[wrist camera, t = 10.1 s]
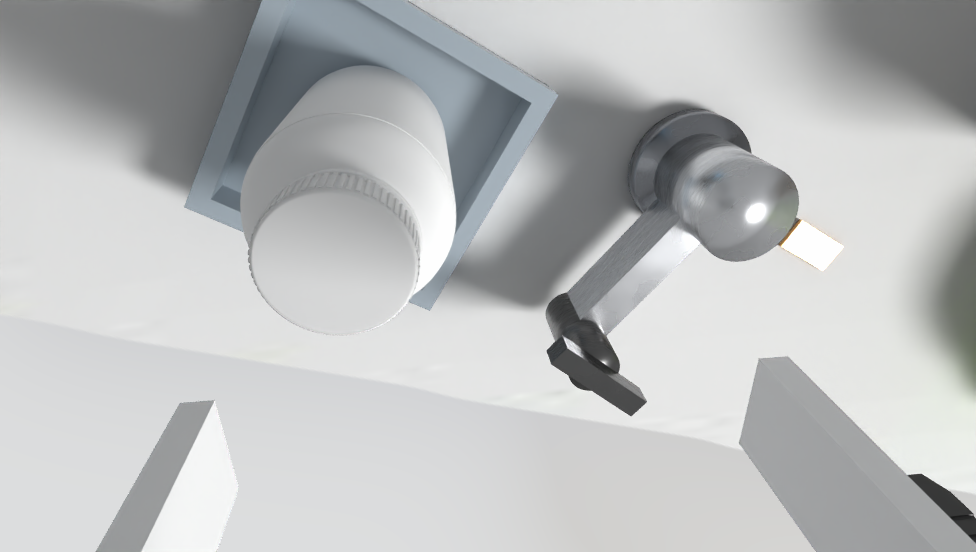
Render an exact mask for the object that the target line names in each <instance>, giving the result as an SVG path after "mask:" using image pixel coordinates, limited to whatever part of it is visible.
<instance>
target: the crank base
mask: <svg viewBox="0 0 976 552" xmlns="http://www.w3.org/2000/svg"><path fill="white" fill-rule="evenodd" d="M696 134H713V135H717V136H719V137H721V138H723V139H725V140H727V141H729V142H731V143H732V144H734V145H736V146H738V147H740V148H742V149H743V150H745V151H747V152H749V153H751V148H750V145H749V142H748V140H747V137H746V136H745V134H744V133H743V131H742V130H741V129H740V128H739V127H738V126H737V125H736V124H735V123H733V122H732V121H730V120H728V119H726V118H724V117H722V116H720V115H718V114H716V113H713V112H710V111H706V110H686V111H681V112H678V113H675V114H672V115H670V116H668V117H666V118H664V119H663V120H661V121H660V122H658V123H657V124H656V125H654V126H653V127H652V128H651V129H650V130H649V131H648V132H647V133H646V134H645V135H644V137H643V138H642V139H641V141H640V142H639V144H638V145H637V147H636V149H635V151H634V153H633V155H632V158H631V162H630V166H629V172H628V182H629V189H630V193H631V195H632V198H633V200H634V202H635V203H636V205H637V206H638V207H639V209H640V210H641V211H642V212H643V213H644V212H645V211H646V210H647V209H648V208H649V207H650V206H651V205H652V204H653V203H654V202H655V201H656V200H657V198H656V195H655V192H654V176H655V172H656V169H657V166H658V164H659V162H660V160H661V159H662V157H663V156H664V155H665V153H666V152H667V151H668V150H669V149H670V148H671V147H672V146H673V145H675V144H676V143H677V142H679V141H680V140H682V139H684V138H686V137H689V136H692V135H696ZM779 245H780V246H782V247H783V248H785V249H787V250H788V251H790V252H792V253H793V254H795V255H797V256H798V257H800V258H802V259H804V260H805V261H807V262H809V263H810V264H812V265H814V266H815V267H817V268H819V269H820V270H822V271H823V270H824V269H825V268H826V267H827V265H828V264H829V263H830V262H831V261H832V260H833V259H834V257H835V256H836V255H837V254H838V253H839V252H840V251H841V249H842V248H843V247H844V246H842V245H840V244H839V243H837V242H836V241H834V240H832V239H831V238H829V237H828V236H826V235H824V234H823V233H821V232H819V231H818V230H816V229H815V228H813V227H811V226H810V225H808V224H807V223H805V222H803V221H802V220H800V219H799V221H798V222H797V223H796V224H795V225H794V227H793V228H792V229H791V230H790V231H789V233H788V234H787V235H786V236H785V237H784V239H783V240H782V241H781V242H780V244H779Z"/></svg>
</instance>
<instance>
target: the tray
mask: <svg viewBox="0 0 976 552" xmlns="http://www.w3.org/2000/svg"><path fill="white" fill-rule="evenodd" d="M359 65H370V66H378V67H383V68H387V69H390V70H393V71H395V72H397V73H399V74H401V75H403V76H405V77H407V78H408V79H410V80H411V81H413V82H414V83H415V84H416V85H418V86H419V87H420V88H421V89H422V90H423V91H424V92H425V93H426V95H427V96H428V97H429V98H430V100H431V101H432V103H433V104H434V106H435V108H436V109H437V111H438V113H439V115H440V118H441V120H442V123H443V127H444V131H445V137H446V143H447V150H448V156H449V163H450V169H451V176H452V182H453V189H454V195H455V203H456V228H455V235H454V239H453V243H452V246H451V248H450V251H449V253H448V255H447V257H446V259H445V261H444V263H443V264H442V266H441V267H440V269H439V270H438V272H437V273H436V274H435V276H434V277H433V278H432V279H431V280H430V281H429V282H428V283H427V284H426V285H425V286H424V287H423V288H422V289H421V290H419V291H418V292H417V293H415V294H414V295H412V298H411V299H409V302H410V303H413V304H415V305H417V306H420V307H422V308H425V309H427V310H429V311H430V309H431V308H432V306H433V304H434V303H435V301H436V299H437V298H438V296H439V294H440V293H441V291H442V289H443V288H444V286H445V284H446V283H447V281H448V279H449V278H450V276H451V274H452V273H453V271H454V269H455V268H456V266H457V264H458V263H459V261H460V259H461V258H462V256H463V254H464V253H465V251H466V249H467V248H468V246H469V244H470V243H471V241H472V239H473V238H474V236H475V234H476V233H477V231H478V229H479V227H480V226H481V224H482V222H483V221H484V219H485V217H486V216H487V214H488V212H489V211H490V209H491V207H492V206H493V204H494V202H495V201H496V199H497V197H498V196H499V194H500V192H501V191H502V189H503V187H504V186H505V184H506V182H507V181H508V179H509V177H510V176H511V174H512V172H513V171H514V169H515V167H516V166H517V164H518V162H519V161H520V159H521V157H522V156H523V154H524V152H525V151H526V149H527V147H528V146H529V144H530V142H531V141H532V139H533V137H534V136H535V134H536V132H537V131H538V129H539V127H540V126H541V124H542V122H543V121H544V119H545V117H546V116H547V114H548V112H549V110H550V109H551V107H552V105H553V104H554V102H555V100H556V99H557V97H558V94H557V93H556V92H554V91H553V90H552V89H551V88H550V87H549V86H547V85H546V84H544V83H542V82H541V81H539V80H538V79H536V78H534V77H533V76H531V75H529V74H528V73H526V72H524V71H523V70H521V69H519V68H518V67H516V66H514V65H513V64H511V63H509V62H508V61H506V60H505V59H503V58H501V57H500V56H498V55H496V54H495V53H493V52H491V51H490V50H488V49H486V48H485V47H483V46H481V45H480V44H478V43H476V42H475V41H473V40H472V39H470V38H468V37H467V36H465V35H463V34H462V33H460V32H458V31H457V30H455V29H453V28H452V27H450V26H448V25H447V24H445V23H443V22H442V21H440V20H439V19H437V18H435V17H434V16H432V15H430V14H429V13H427V12H425V11H424V10H422V9H420V8H419V7H417V6H415V5H414V4H412V3H410V2H409V1H407V0H262V2H261V4H260V7H259V10H258V12H257V15H256V18H255V20H254V23H253V26H252V28H251V31H250V34H249V36H248V39H247V41H246V44H245V47H244V49H243V52H242V55H241V57H240V60H239V63H238V65H237V68H236V71H235V73H234V76H233V79H232V81H231V84H230V87H229V89H228V92H227V95H226V97H225V100H224V103H223V105H222V108H221V111H220V113H219V116H218V118H217V121H216V124H215V126H214V129H213V132H212V134H211V137H210V140H209V142H208V145H207V148H206V150H205V153H204V156H203V158H202V161H201V164H200V166H199V169H198V172H197V174H196V177H195V180H194V182H193V185H192V188H191V190H190V193H189V196H188V198H187V201H186V203H185V206H184V207H185V208H187V209H190V210H192V211H195V212H197V213H199V214H202V215H204V216H206V217H209V218H211V219H213V220H216V221H218V222H221V223H223V224H225V225H228V226H230V227H232V228H235V229H237V230H240V231H242V232H244V231H243V226H242V220H241V211H240V197H241V189H242V184H243V180H244V177H245V174H246V172H247V169H248V167H249V165H250V163H251V161H252V159H253V158H254V156H255V154H256V153H257V152H258V150H259V149H260V147H261V146H262V145H263V144H264V142H265V141H266V140H267V139H268V138H269V136H270V135H271V134H272V133H273V132H274V130H275V129H276V128H277V127H278V126H279V124H280V123H281V122H282V121H283V120H284V118H285V117H286V116H287V115H288V114H289V112H290V111H291V110H292V109H293V108H294V106H295V105H296V104H297V103H298V102H299V100H300V99H301V98H302V97H303V96H304V94H305V93H306V92H307V91H308V90H309V89H310V88H311V87H312V86H313V85H314V84H315V83H316V82H317V81H319V80H320V79H321V78H323V77H324V76H326V75H328V74H330V73H332V72H334V71H337V70H340V69H343V68H346V67H351V66H359Z"/></svg>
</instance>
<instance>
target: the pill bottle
mask: <svg viewBox="0 0 976 552" xmlns="http://www.w3.org/2000/svg"><path fill="white" fill-rule="evenodd" d="M240 211H241V220H242V226H243V231H244V234H245V238H246V240H247V243H248V246H249V248H250V249H249V250H248V255H249V258H248V262H249V263H250V265H249V268H250V271H251V276H252V278H253V279H254V283H255V285H256V286H257V289H258V291H259V292H260V293H261V296H262V297H263V298H264V299H265V301H266V302H267V303H268V304H269V305H270V306H271V307H272V308H273V309H274V310H275V311H276V312H277V313H278V314H279V315H281V316H282V317H283V318H285V319H286V320H288V321H290V322H291V323H293V324H295V325H297V326H299V327H301V328H304V329H307V330H309V331H313V332H316V333H321V334H327V335H352V334H358V333H363V332H366V331H369V330H372V329H374V328H377V327H379V326H381V325H383V324H385V323H387V322H388V321H389V320H391V319H393V318H394V316H397V315H398V314H399V312H400V311H402V310H403V309H404V306H405V305H407V304H408V302H409V299H411V298H412V295H414V294H415V293H417V292H418V291H419V290H421V289H422V288H423V287H424V286H425V285H426V284H427V283H428V282H429V281H430V280H431V279H432V278H433V277H434V276H435V274H436V273H437V272H438V270H439V269H440V267H441V266H442V264H443V263H444V261H445V259H446V257H447V255H448V253H449V251H450V248H451V246H452V243H453V239H454V235H455V228H456V203H455V195H454V189H453V182H452V176H451V169H450V163H449V156H448V150H447V143H446V137H445V131H444V127H443V123H442V120H441V118H440V115H439V113H438V111H437V109H436V108H435V106H434V104H433V103H432V101H431V100H430V98H429V97H428V96H427V95H426V93H425V92H424V91H423V90H422V89H421V88H420V87H419V86H418V85H416V84H415V83H414V82H413V81H411V80H410V79H408V78H407V77H405V76H403V75H401V74H399V73H397V72H395V71H393V70H390V69H387V68H383V67H378V66H370V65H359V66H351V67H346V68H343V69H340V70H337V71H334V72H332V73H330V74H328V75H326V76H324V77H323V78H321V79H320V80H319V81H317V82H316V83H315V84H314V85H313V86H312V87H311V88H310V89H309V90H308V91H307V92H306V93H305V94H304V96H303V97H302V98H301V99H300V100H299V102H298V103H297V104H296V105H295V106H294V108H293V109H292V110H291V111H290V112H289V114H288V115H287V116H286V117H285V118H284V120H283V121H282V122H281V123H280V124H279V126H278V127H277V128H276V129H275V130H274V132H273V133H272V134H271V135H270V136H269V138H268V139H267V140H266V141H265V142H264V144H263V145H262V146H261V147H260V149H259V150H258V152H257V153H256V154H255V156H254V158H253V159H252V161H251V163H250V165H249V167H248V169H247V172H246V174H245V177H244V180H243V184H242V189H241V197H240Z"/></svg>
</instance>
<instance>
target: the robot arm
mask: <svg viewBox="0 0 976 552" xmlns="http://www.w3.org/2000/svg"><path fill="white" fill-rule="evenodd" d="M739 444H740V445H741V447H742V448H743V449H744V451H745V452H746V454H747V455H748V456H749V458H750V459H751V461H752V462H753V463H754V465H755V466H756V468H757V469H758V470H759V472H760V473H761V475H762V476H763V478H764V479H765V481H766V482H767V483H768V485H769V486H770V487H771V489H772V490H773V492H774V493H775V495H776V496H777V497H778V499H779V500H780V502H781V503H782V504H783V506H784V507H785V509H786V510H787V512H788V513H789V514H790V516H791V517H792V518H793V520H794V521H795V523H796V524H797V526H798V527H799V529H800V530H801V531H802V533H803V534H804V536H805V537H806V538H807V540H808V541H809V543H810V544H811V546H812V547H813V548H814V550H815V551H816V552H976V518H975V517H974V514H973V513H972V512H971V511H970V510H969V509H968V508H967V507H966V506H965V505H964V504H963V503H961V501H960V500H958V499H957V498H956V497H955V496H954V495H953V494H952V493H951V492H950V491H948V490H947V489H945V488H943V487H942V486H940V485H938V484H937V483H935V482H934V481H932V480H930V479H929V478H927V477H926V476H924V475H922V474H914V475H906V474H905V473H904V472H903V471H902V470H901V469H900V468H899V467H898V466H897V465H896V464H895V463H894V462H893V461H892V460H891V459H890V458H889V457H888V456H887V455H886V454H885V453H884V452H883V451H882V450H881V449H880V448H879V447H878V446H877V445H876V444H875V443H874V442H873V441H872V440H871V439H870V438H869V437H868V436H867V435H866V434H865V433H864V432H863V431H862V430H861V429H860V428H859V427H858V426H857V425H856V424H855V423H854V422H853V421H852V420H851V419H850V418H849V417H848V416H847V415H846V414H845V413H844V412H843V411H842V410H841V409H840V408H839V407H838V406H837V405H836V404H835V403H834V402H833V401H832V400H831V399H830V398H829V397H828V396H827V395H826V394H825V393H824V392H823V391H822V390H821V389H820V388H819V387H818V386H817V385H816V384H815V383H814V382H813V381H812V380H811V379H810V378H809V377H808V376H807V375H806V374H805V373H804V372H803V371H802V370H801V369H800V368H799V367H798V366H797V365H796V364H795V363H794V362H793V361H792V360H791V359H790V358H789V357H775V358H762V359H759V360H758V365H757V369H756V373H755V378H754V382H753V386H752V390H751V395H750V399H749V403H748V407H747V412H746V416H745V420H744V425H743V429H742V433H741V437H740V442H739ZM238 490H239V487H238V483H237V479H236V476H235V472H234V469H233V465H232V461H231V458H230V455H229V451H228V447H227V443H226V439H225V436H224V432H223V429H222V425H221V421H220V418H219V414H218V411H217V407H216V403H215V400H214V401H200V402H187V403H180V404H179V406H178V407H177V409H176V411H175V413H174V415H173V416H172V418H171V420H170V421H169V423H168V425H167V427H166V429H165V430H164V432H163V434H162V436H161V438H160V439H159V441H158V443H157V445H156V446H155V448H154V450H153V452H152V453H151V455H150V457H149V459H148V460H147V462H146V464H145V466H144V467H143V469H142V471H141V473H140V474H139V476H138V478H137V480H136V482H135V483H134V485H133V487H132V489H131V490H130V492H129V494H128V496H127V497H126V499H125V501H124V503H123V505H122V506H121V508H120V510H119V512H118V513H117V515H116V517H115V519H114V520H113V522H112V524H111V526H110V528H109V529H108V531H107V533H106V535H105V536H104V538H103V540H102V542H101V543H100V545H99V547H98V549H97V551H96V552H217V550H218V547H219V544H220V541H221V538H222V535H223V533H224V530H225V527H226V524H227V521H228V518H229V516H230V513H231V510H232V507H233V504H234V501H235V498H236V496H237V493H238Z"/></svg>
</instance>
